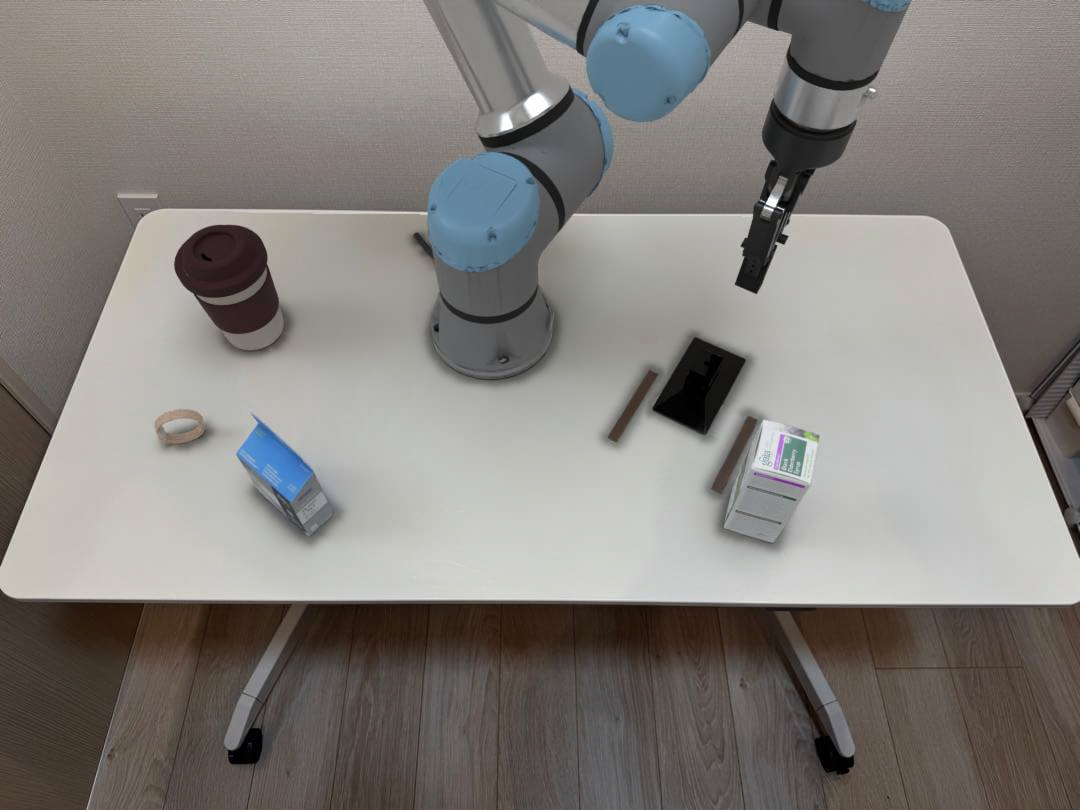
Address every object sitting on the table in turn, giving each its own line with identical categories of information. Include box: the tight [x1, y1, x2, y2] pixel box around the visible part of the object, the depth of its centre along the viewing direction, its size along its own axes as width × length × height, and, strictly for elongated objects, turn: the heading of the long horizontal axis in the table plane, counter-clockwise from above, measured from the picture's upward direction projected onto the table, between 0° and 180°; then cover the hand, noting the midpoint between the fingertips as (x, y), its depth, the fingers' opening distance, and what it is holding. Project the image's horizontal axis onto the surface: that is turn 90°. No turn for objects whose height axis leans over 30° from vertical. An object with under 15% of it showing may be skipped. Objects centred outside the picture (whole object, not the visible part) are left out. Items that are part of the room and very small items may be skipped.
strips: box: [607, 369, 759, 495], centre depth 89 cm, size 14×11×1 cm
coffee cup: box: [173, 224, 285, 351], centre depth 91 cm, size 10×10×15 cm
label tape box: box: [235, 411, 335, 537], centre depth 79 cm, size 9×4×12 cm, turn 50°
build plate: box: [651, 336, 747, 436], centre depth 91 cm, size 12×7×5 cm, turn 150°
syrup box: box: [722, 419, 821, 544], centre depth 78 cm, size 6×6×14 cm
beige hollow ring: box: [154, 408, 205, 445], centre depth 87 cm, size 3×5×5 cm, turn 111°
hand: (748, 285), depth 87 cm, fingers closed
